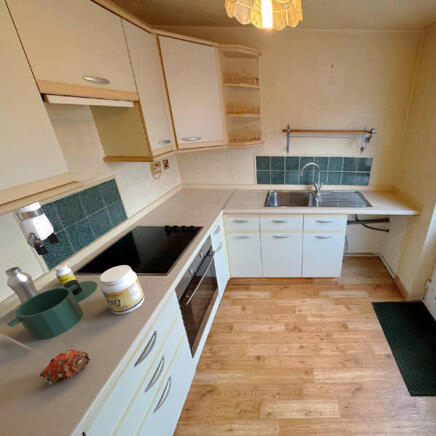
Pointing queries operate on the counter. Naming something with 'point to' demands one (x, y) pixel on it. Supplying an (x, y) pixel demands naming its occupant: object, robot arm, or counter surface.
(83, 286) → the pot lid
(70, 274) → the supplement bottle
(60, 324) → the pot
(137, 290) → the supplement tub
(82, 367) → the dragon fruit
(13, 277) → the silver metal bottle
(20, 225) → the robot arm
